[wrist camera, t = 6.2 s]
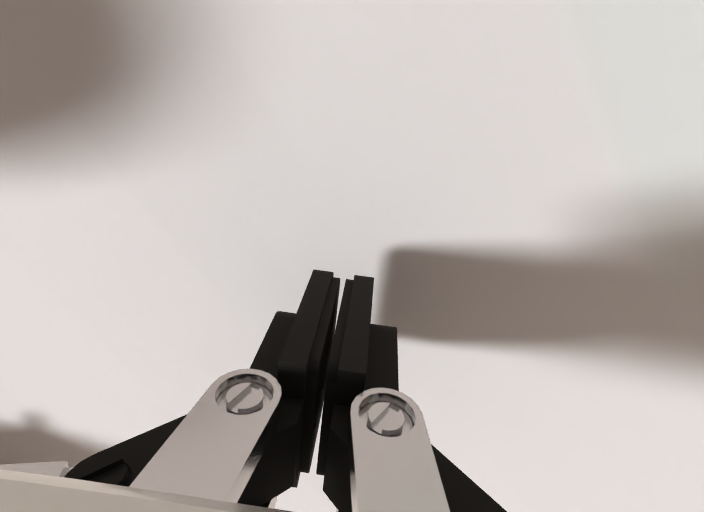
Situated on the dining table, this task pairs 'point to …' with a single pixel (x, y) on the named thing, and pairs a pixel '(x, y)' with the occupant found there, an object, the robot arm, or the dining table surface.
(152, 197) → the dining table surface
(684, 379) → the dining table surface
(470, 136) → the dining table surface
